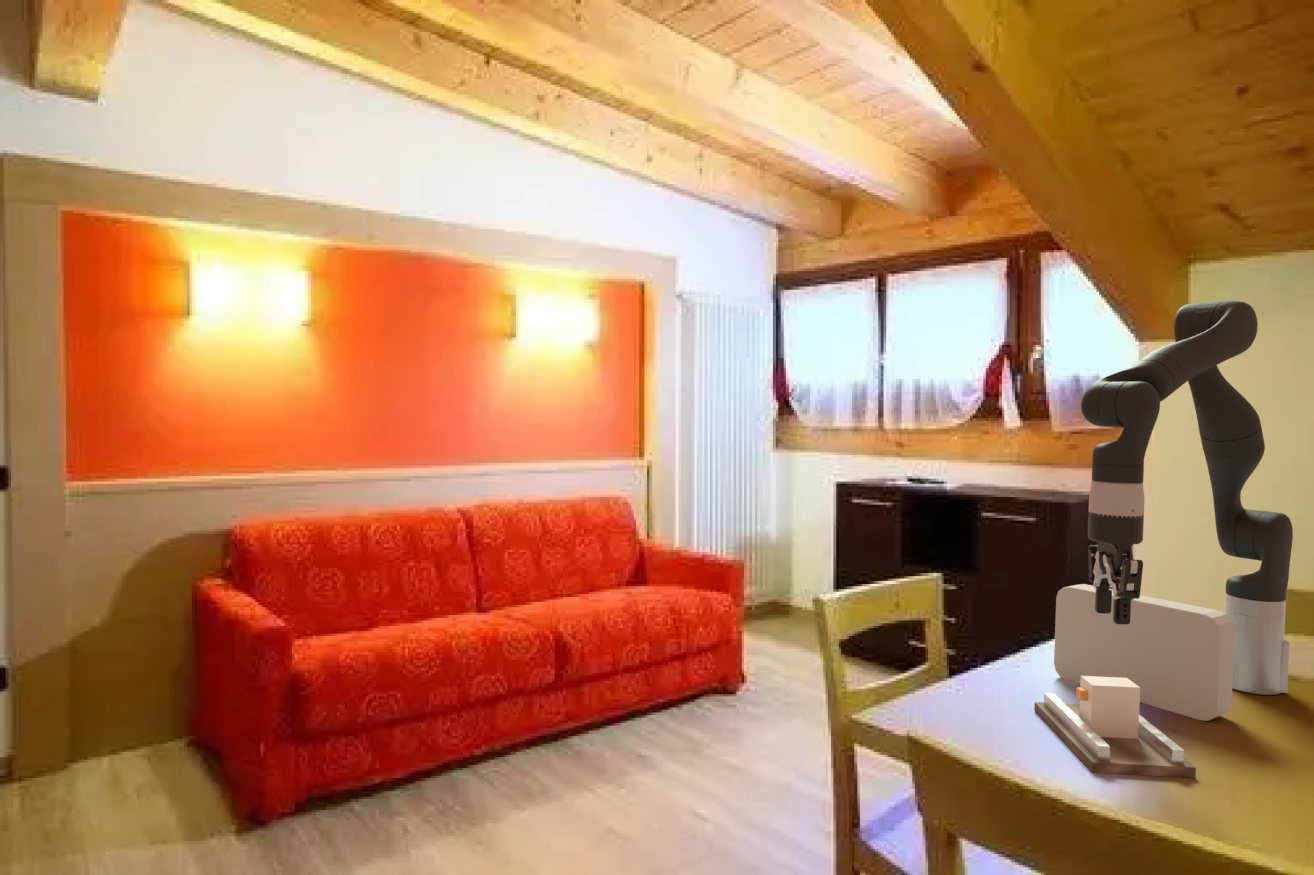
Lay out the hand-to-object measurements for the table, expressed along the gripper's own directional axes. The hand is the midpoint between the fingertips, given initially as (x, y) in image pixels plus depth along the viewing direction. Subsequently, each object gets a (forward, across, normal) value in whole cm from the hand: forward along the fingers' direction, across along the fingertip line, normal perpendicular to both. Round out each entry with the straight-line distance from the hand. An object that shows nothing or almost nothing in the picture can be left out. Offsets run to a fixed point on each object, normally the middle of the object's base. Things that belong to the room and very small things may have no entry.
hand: (1111, 617), depth 131 cm
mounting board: (+20, 0, 0) cm, 20 cm away
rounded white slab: (+20, +22, -14) cm, 33 cm away
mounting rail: (+18, 0, 0) cm, 18 cm away
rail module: (+18, 0, 0) cm, 18 cm away
